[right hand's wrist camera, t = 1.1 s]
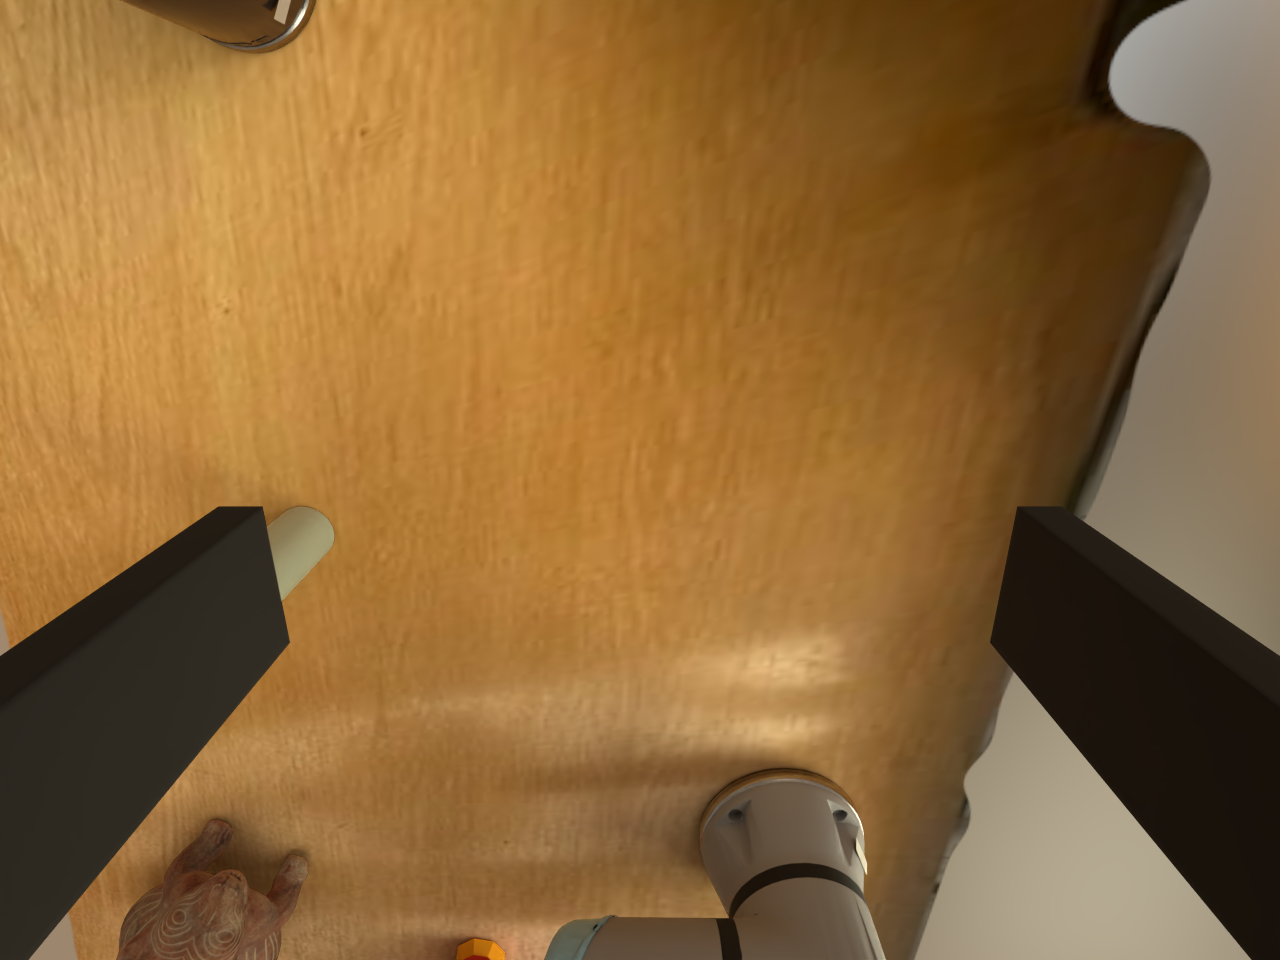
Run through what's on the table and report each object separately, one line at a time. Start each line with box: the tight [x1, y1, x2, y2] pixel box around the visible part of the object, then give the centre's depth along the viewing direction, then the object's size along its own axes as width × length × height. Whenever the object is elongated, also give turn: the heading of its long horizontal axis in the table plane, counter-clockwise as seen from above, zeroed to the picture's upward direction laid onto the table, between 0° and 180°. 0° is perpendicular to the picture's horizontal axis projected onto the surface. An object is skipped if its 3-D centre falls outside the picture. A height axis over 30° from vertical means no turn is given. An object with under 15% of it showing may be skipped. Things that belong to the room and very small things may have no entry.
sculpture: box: [116, 820, 309, 960], centre depth 62 cm, size 14×25×15 cm, turn 153°
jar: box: [267, 506, 334, 601], centre depth 50 cm, size 5×5×16 cm
